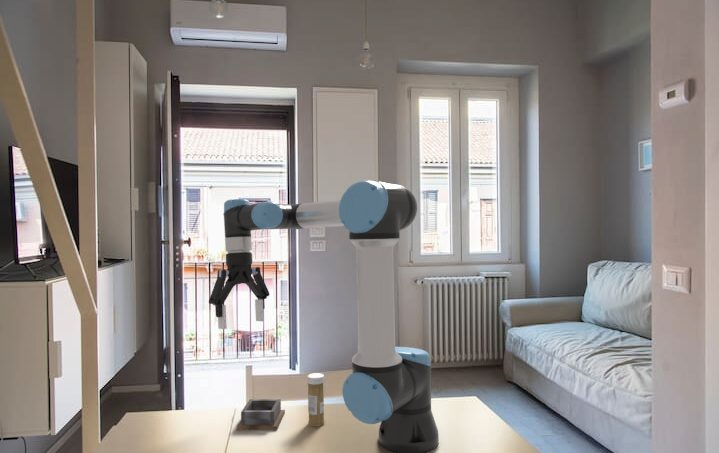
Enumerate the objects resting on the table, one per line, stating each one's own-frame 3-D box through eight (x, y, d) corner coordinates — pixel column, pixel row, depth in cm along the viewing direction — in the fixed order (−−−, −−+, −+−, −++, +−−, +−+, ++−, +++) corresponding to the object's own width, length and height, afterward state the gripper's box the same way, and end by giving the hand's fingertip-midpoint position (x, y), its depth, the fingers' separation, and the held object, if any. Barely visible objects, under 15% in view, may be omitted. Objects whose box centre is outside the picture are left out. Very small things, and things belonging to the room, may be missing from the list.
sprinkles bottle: (327, 424, 123) (326, 375, 123) (312, 428, 120) (312, 378, 120) (319, 418, 127) (319, 371, 127) (305, 422, 124) (304, 374, 124)
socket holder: (284, 413, 131) (284, 397, 131) (277, 430, 120) (276, 413, 120) (247, 413, 131) (247, 397, 131) (236, 430, 120) (236, 413, 120)
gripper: (262, 251, 144) (265, 317, 142) (193, 254, 123) (196, 331, 122) (278, 250, 139) (282, 318, 138) (210, 252, 119) (213, 333, 118)
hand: (242, 324), depth 130 cm, fingers open, 13 cm apart
